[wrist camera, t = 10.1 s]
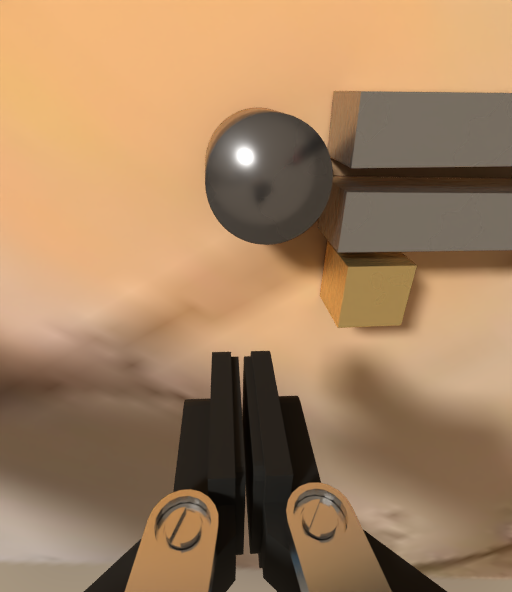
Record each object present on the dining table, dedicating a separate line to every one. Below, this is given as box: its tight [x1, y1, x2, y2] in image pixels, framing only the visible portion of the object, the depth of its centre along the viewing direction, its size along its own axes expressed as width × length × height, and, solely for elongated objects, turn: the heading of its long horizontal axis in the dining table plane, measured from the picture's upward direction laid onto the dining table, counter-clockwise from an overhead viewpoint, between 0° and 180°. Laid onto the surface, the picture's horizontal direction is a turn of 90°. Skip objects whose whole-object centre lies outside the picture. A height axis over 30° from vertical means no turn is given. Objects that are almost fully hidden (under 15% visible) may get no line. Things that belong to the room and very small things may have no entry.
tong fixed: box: [205, 108, 512, 252], centre depth 16 cm, size 24×6×4 cm, turn 89°
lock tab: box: [320, 241, 417, 328], centre depth 17 cm, size 3×3×3 cm
